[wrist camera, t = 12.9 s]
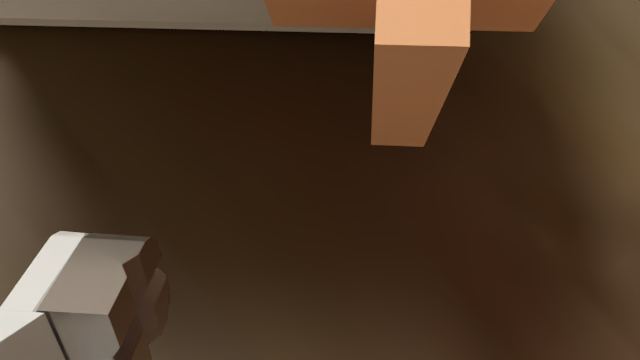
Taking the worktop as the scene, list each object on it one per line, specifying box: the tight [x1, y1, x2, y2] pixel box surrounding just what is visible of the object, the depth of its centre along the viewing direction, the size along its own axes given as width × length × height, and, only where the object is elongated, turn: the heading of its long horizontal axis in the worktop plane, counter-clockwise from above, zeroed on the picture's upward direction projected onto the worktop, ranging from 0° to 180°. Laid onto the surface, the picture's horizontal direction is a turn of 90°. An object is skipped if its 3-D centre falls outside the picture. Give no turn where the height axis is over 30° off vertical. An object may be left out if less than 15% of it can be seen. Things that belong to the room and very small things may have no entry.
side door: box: [264, 0, 556, 147], centre depth 14 cm, size 8×5×8 cm, turn 87°
